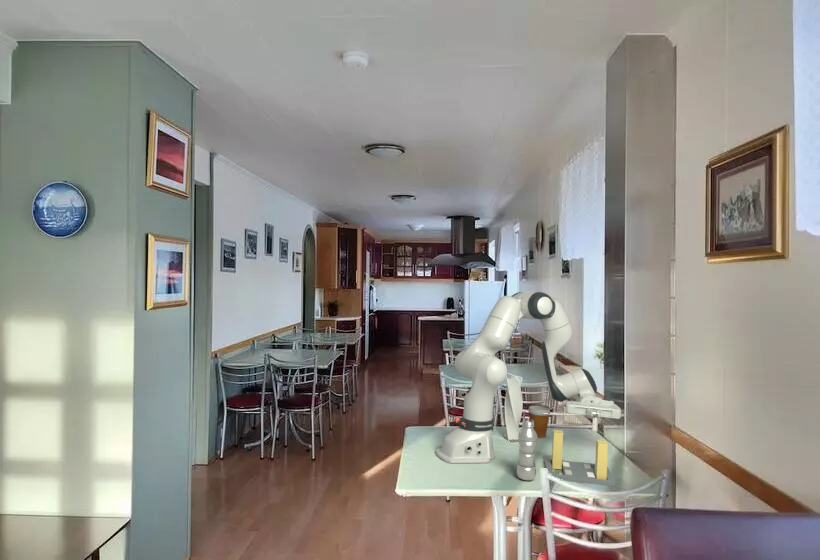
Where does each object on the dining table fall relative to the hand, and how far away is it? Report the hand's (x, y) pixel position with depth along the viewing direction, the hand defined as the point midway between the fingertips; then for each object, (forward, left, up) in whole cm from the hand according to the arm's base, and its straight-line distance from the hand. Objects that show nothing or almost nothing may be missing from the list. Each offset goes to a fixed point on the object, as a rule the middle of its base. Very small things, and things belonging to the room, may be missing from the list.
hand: (595, 414), depth 197 cm
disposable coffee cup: (0, +36, -19) cm, 41 cm away
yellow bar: (-7, -13, -19) cm, 24 cm away
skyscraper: (-14, +34, -19) cm, 41 cm away
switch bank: (-11, -6, -19) cm, 23 cm away
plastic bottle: (-32, -6, -19) cm, 38 cm away
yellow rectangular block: (-15, +1, -19) cm, 24 cm away
